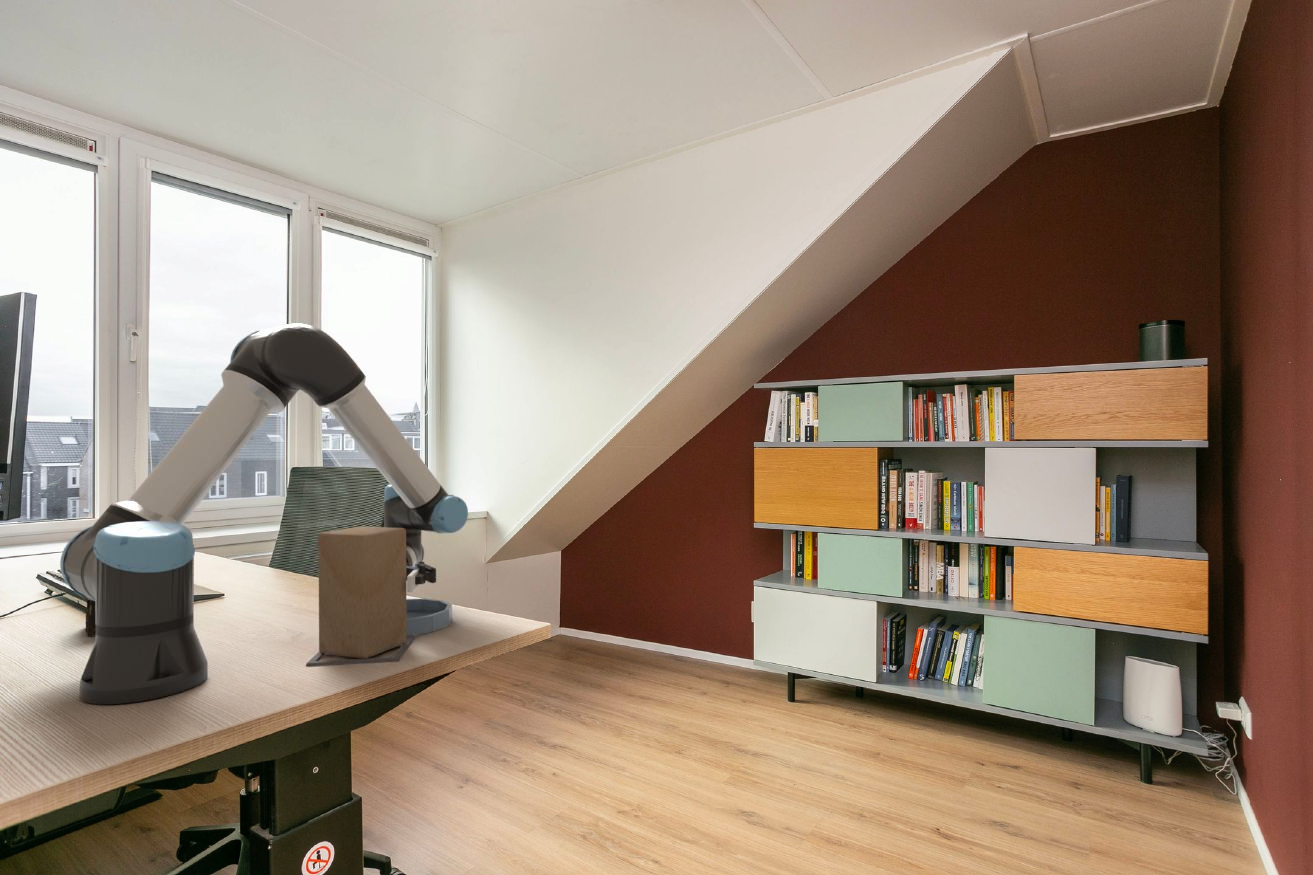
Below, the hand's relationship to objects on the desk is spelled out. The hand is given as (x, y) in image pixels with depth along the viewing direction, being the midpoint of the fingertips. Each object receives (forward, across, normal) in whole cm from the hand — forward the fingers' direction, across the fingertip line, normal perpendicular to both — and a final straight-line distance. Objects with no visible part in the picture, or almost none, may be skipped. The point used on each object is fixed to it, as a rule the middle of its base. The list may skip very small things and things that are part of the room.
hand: (367, 585), depth 121 cm
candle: (-25, +51, -11) cm, 58 cm away
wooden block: (0, 0, -11) cm, 11 cm away
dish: (-16, -3, -11) cm, 20 cm away
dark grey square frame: (0, 0, -11) cm, 11 cm away
